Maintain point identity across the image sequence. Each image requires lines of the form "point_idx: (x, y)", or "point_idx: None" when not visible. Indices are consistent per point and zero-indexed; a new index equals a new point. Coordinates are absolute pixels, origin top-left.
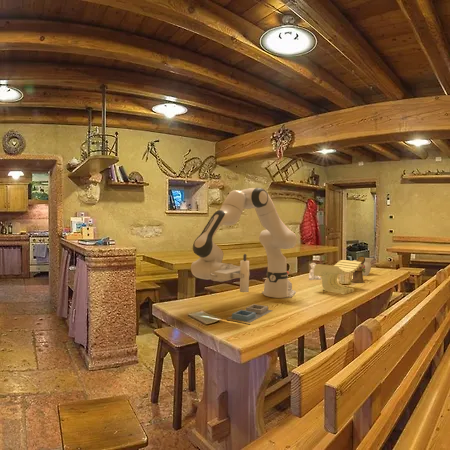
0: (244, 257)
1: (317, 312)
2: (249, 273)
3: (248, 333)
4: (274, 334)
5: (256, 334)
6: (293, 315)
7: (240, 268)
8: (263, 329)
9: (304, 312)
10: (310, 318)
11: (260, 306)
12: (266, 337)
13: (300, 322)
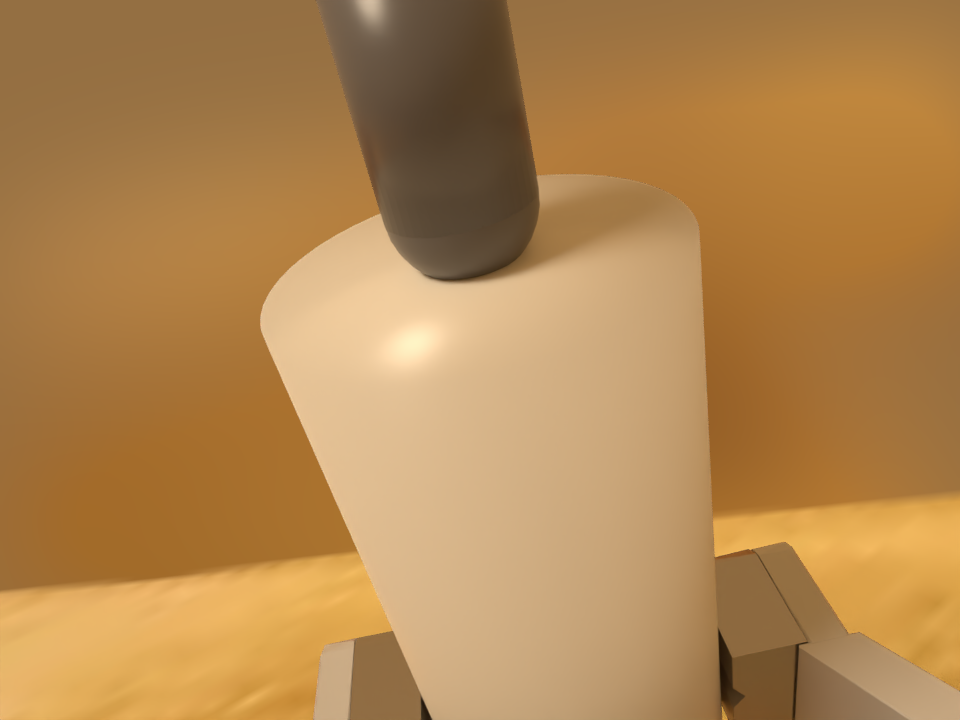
0: (507, 49)
1: (22, 627)
2: (359, 644)
3: (940, 648)
4: (736, 518)
5: (877, 591)
6: (177, 707)
7: (694, 586)
8: None
9: (43, 696)
10: (216, 576)
11: None
12: (839, 512)
13: (352, 565)
